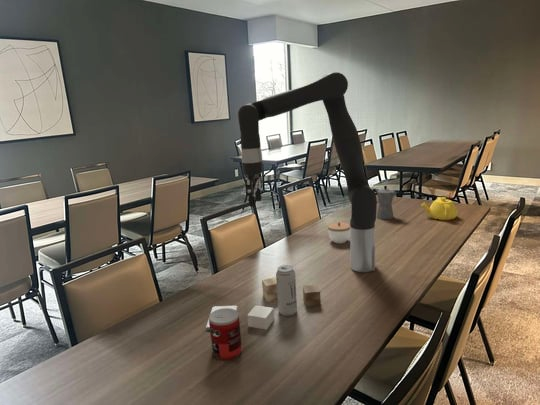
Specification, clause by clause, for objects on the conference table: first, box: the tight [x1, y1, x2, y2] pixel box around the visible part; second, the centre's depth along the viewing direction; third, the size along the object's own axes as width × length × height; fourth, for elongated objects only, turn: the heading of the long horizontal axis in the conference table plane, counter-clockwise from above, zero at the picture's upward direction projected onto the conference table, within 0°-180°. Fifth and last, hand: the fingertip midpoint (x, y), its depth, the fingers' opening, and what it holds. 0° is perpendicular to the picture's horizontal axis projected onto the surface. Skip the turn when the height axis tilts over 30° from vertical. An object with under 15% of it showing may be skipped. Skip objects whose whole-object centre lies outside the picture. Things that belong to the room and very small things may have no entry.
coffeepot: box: [372, 185, 398, 220], centre depth 213 cm, size 15×9×18 cm, turn 44°
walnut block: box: [302, 284, 322, 308], centre depth 126 cm, size 5×5×5 cm
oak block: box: [261, 276, 278, 303], centre depth 131 cm, size 5×5×6 cm
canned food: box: [208, 308, 243, 361], centre depth 102 cm, size 8×8×11 cm
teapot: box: [421, 196, 458, 221], centre depth 206 cm, size 20×18×11 cm
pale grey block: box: [247, 305, 275, 330], centre depth 116 cm, size 6×6×4 cm
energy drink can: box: [275, 264, 298, 317], centre depth 120 cm, size 6×6×15 cm
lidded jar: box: [327, 222, 350, 244], centre depth 180 cm, size 11×11×9 cm
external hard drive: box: [205, 305, 238, 331], centre depth 120 cm, size 2×8×12 cm
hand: (255, 203), depth 142 cm, fingers open, 8 cm apart
